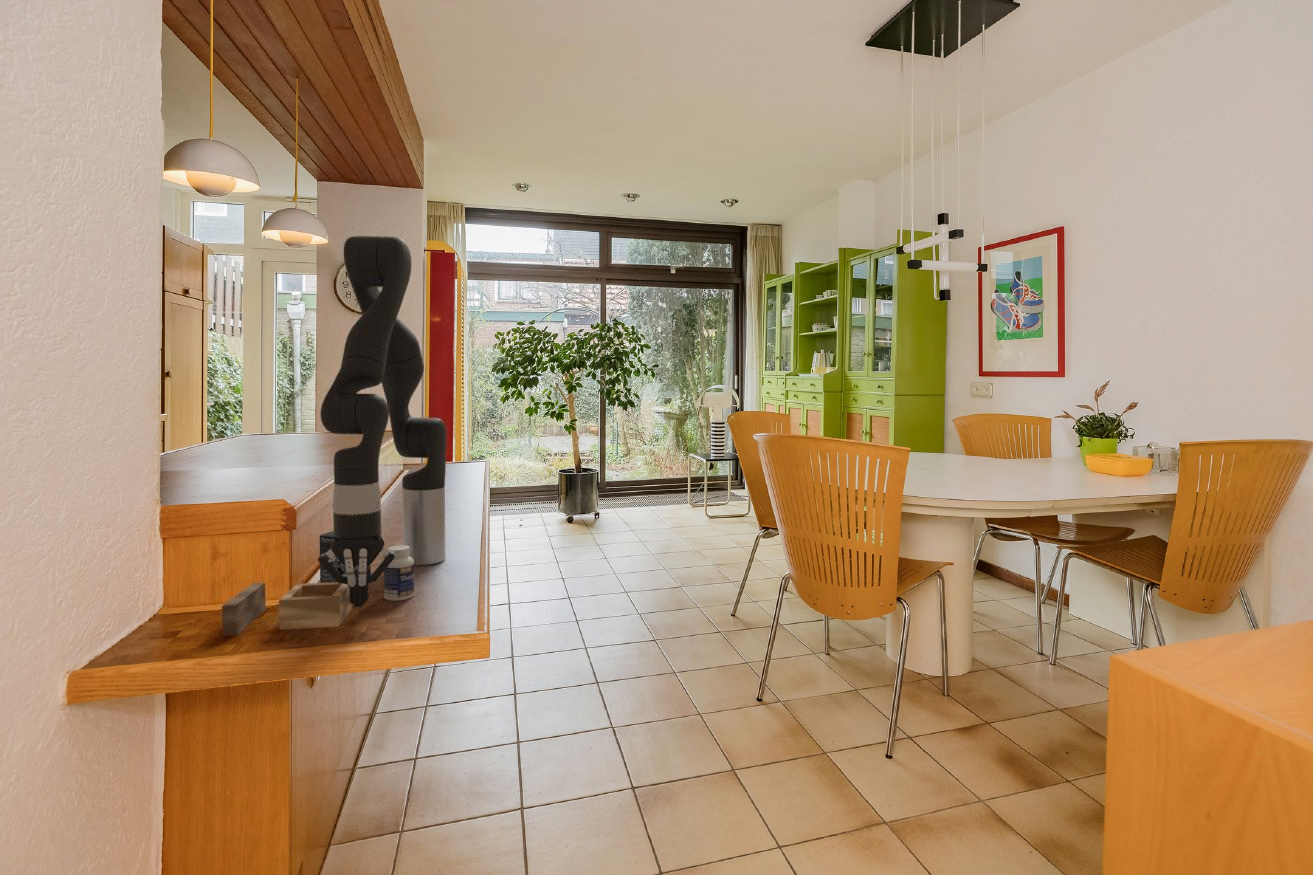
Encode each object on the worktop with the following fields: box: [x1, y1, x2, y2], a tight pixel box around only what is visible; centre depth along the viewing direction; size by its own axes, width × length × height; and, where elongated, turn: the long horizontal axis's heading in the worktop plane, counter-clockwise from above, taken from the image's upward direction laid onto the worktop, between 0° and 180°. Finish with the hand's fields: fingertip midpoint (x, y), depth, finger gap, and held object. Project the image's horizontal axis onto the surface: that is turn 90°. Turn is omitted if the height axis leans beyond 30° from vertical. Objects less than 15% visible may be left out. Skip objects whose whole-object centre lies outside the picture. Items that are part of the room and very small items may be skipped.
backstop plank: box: [221, 582, 267, 637], centre depth 110 cm, size 12×2×5 cm, turn 12°
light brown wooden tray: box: [278, 582, 353, 631], centre depth 112 cm, size 9×9×5 cm
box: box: [319, 530, 372, 583], centre depth 131 cm, size 8×6×11 cm
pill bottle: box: [383, 544, 415, 602], centre depth 124 cm, size 5×5×10 cm
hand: (359, 605), depth 113 cm, fingers closed
